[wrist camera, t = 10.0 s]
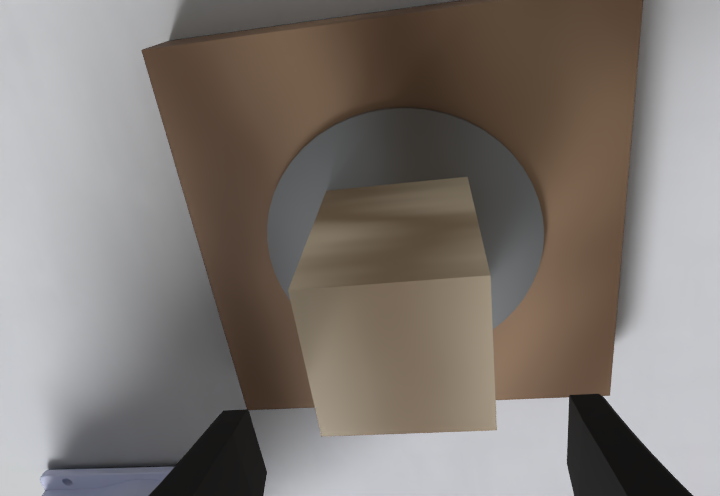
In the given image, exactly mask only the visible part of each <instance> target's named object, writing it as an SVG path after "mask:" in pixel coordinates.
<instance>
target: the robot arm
mask: <svg viewBox="0 0 720 496" xmlns="http://www.w3.org/2000/svg"><path fill="white" fill-rule="evenodd" d="M567 466H568V470H569V474H570V479H571V483H572V488H573V492H574V496H693V495H692V494H691V493H690V492H689V491H688V490H687V489H686V488H685V487H684V486H683V485H682V484H681V483H680V482H679V481H678V480H677V479H676V478H675V477H674V476H673V475H672V474H671V473H670V472H669V471H668V470H667V469H666V468H665V467H664V466H663V465H662V464H661V463H660V461H659V460H658V459H657V458H656V457H655V456H654V455H653V454H652V453H651V452H650V451H649V450H648V449H647V448H646V446H645V445H644V444H643V443H642V442H641V441H640V440H639V439H638V437H637V436H636V435H635V434H634V433H633V432H632V431H631V430H630V428H629V427H628V426H627V425H626V424H625V423H624V421H623V420H622V419H621V418H620V417H619V415H618V414H617V413H616V412H615V411H614V409H613V408H612V407H611V406H610V404H609V403H608V402H607V401H606V399H605V398H604V397H603V396H601V395H600V394H579V395H569V421H568V449H567ZM266 475H267V471H266V468H265V464H264V461H263V457H262V454H261V451H260V447H259V444H258V441H257V437H256V434H255V431H254V427H253V424H252V421H251V417H250V414H249V411H248V410H229V411H223V412H222V413H221V414H220V415H219V416H218V417H217V419H216V420H215V421H214V422H213V423H212V424H211V425H210V427H209V428H208V429H207V430H206V431H205V432H204V434H203V435H202V436H201V437H200V438H199V439H198V441H197V442H196V443H195V444H194V445H193V446H192V448H191V449H190V450H189V451H188V452H187V453H186V455H185V456H184V457H183V458H182V459H181V460H180V461H179V463H178V464H177V465H176V466H175V467H138V468H100V469H62V470H46V471H45V472H44V473H43V474H42V476H41V477H40V481H41V484H42V486H43V487H44V489H45V492H44V493H43V495H42V496H263V493H264V487H265V481H266Z"/></svg>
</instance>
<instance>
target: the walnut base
mask: <svg viewBox="0 0 720 496" xmlns="http://www.w3.org/2000/svg"><path fill="white" fill-rule="evenodd" d="M642 7H643V0H461V1H454V2H447V3H440V4H432V5H425V6H418V7H411V8H403V9H396V10H389V11H382V12H374V13H367V14H360V15H353V16H345V17H338V18H331V19H324V20H317V21H309V22H302V23H295V24H288V25H280V26H273V27H266V28H259V29H251V30H244V31H237V32H230V33H222V34H215V35H208V36H201V37H194V38H186V39H179V40H172V41H167V42H164V43H161V44H158V45H155V46H152V47H149V48H146V49H143V50H142V54H143V57H144V60H145V64H146V67H147V71H148V74H149V77H150V81H151V84H152V88H153V91H154V94H155V98H156V101H157V105H158V108H159V111H160V115H161V118H162V122H163V125H164V128H165V132H166V135H167V139H168V142H169V145H170V149H171V152H172V156H173V159H174V162H175V166H176V169H177V173H178V176H179V179H180V183H181V186H182V190H183V193H184V196H185V200H186V203H187V207H188V210H189V213H190V217H191V220H192V224H193V227H194V230H195V234H196V237H197V241H198V244H199V247H200V251H201V254H202V258H203V261H204V264H205V268H206V271H207V275H208V278H209V281H210V285H211V288H212V292H213V295H214V298H215V302H216V305H217V309H218V312H219V315H220V319H221V322H222V326H223V329H224V332H225V336H226V339H227V342H228V346H229V349H230V353H231V356H232V359H233V363H234V366H235V370H236V373H237V376H238V380H239V383H240V387H241V390H242V393H243V397H244V400H245V404H246V407H247V410H263V409H288V408H313V407H315V406H314V402H313V397H312V393H311V389H310V384H309V380H308V375H307V371H306V367H305V362H304V358H303V354H302V349H301V345H300V340H299V336H298V332H297V327H296V323H295V319H294V314H293V310H292V305H291V301H290V297H289V292H288V289H289V287H290V284H291V281H292V279H293V276H294V274H295V271H296V268H297V266H298V263H299V261H300V258H301V255H302V253H303V250H304V247H305V245H306V242H307V240H308V237H309V234H310V232H311V229H312V227H313V224H314V221H315V219H316V216H317V214H318V211H319V208H320V206H321V203H322V200H323V198H324V195H325V193H326V191H328V190H338V189H348V188H358V187H369V186H379V185H389V184H399V183H409V182H419V181H429V180H439V179H449V178H459V177H468V181H469V185H470V190H471V194H472V198H473V202H474V207H475V211H476V215H477V219H478V224H479V228H480V232H481V237H482V241H483V245H484V249H485V254H486V258H487V262H488V267H489V271H490V275H491V299H492V324H493V349H494V375H495V400H510V399H535V398H560V397H569V395H579V394H600V395H601V396H609V395H610V387H611V375H612V363H613V352H614V340H615V328H616V316H617V304H618V292H619V280H620V268H621V257H622V245H623V233H624V221H625V209H626V197H627V185H628V173H629V162H630V150H631V138H632V126H633V114H634V102H635V90H636V78H637V67H638V55H639V43H640V31H641V19H642Z"/></svg>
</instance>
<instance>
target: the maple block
mask: <svg viewBox="0 0 720 496" xmlns="http://www.w3.org/2000/svg"><path fill="white" fill-rule="evenodd" d="M288 292H289V297H290V301H291V305H292V310H293V314H294V319H295V323H296V327H297V332H298V336H299V340H300V345H301V349H302V354H303V358H304V362H305V367H306V371H307V375H308V380H309V384H310V389H311V393H312V397H313V402H314V406H315V411H316V415H317V419H318V424H319V428H320V432H321V437H322V436H350V435H378V434H406V433H433V432H461V431H489V430H497V425H496V400H495V375H494V349H493V324H492V299H491V275H490V271H489V267H488V262H487V258H486V254H485V249H484V245H483V241H482V237H481V232H480V228H479V224H478V219H477V215H476V211H475V207H474V202H473V198H472V194H471V190H470V185H469V181H468V177H459V178H449V179H439V180H429V181H419V182H409V183H399V184H389V185H379V186H369V187H358V188H348V189H338V190H328V191H326V193H325V195H324V198H323V200H322V203H321V206H320V208H319V211H318V214H317V216H316V219H315V221H314V224H313V227H312V229H311V232H310V234H309V237H308V240H307V242H306V245H305V247H304V250H303V253H302V255H301V258H300V261H299V263H298V266H297V268H296V271H295V274H294V276H293V279H292V281H291V284H290V287H289V289H288Z"/></svg>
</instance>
